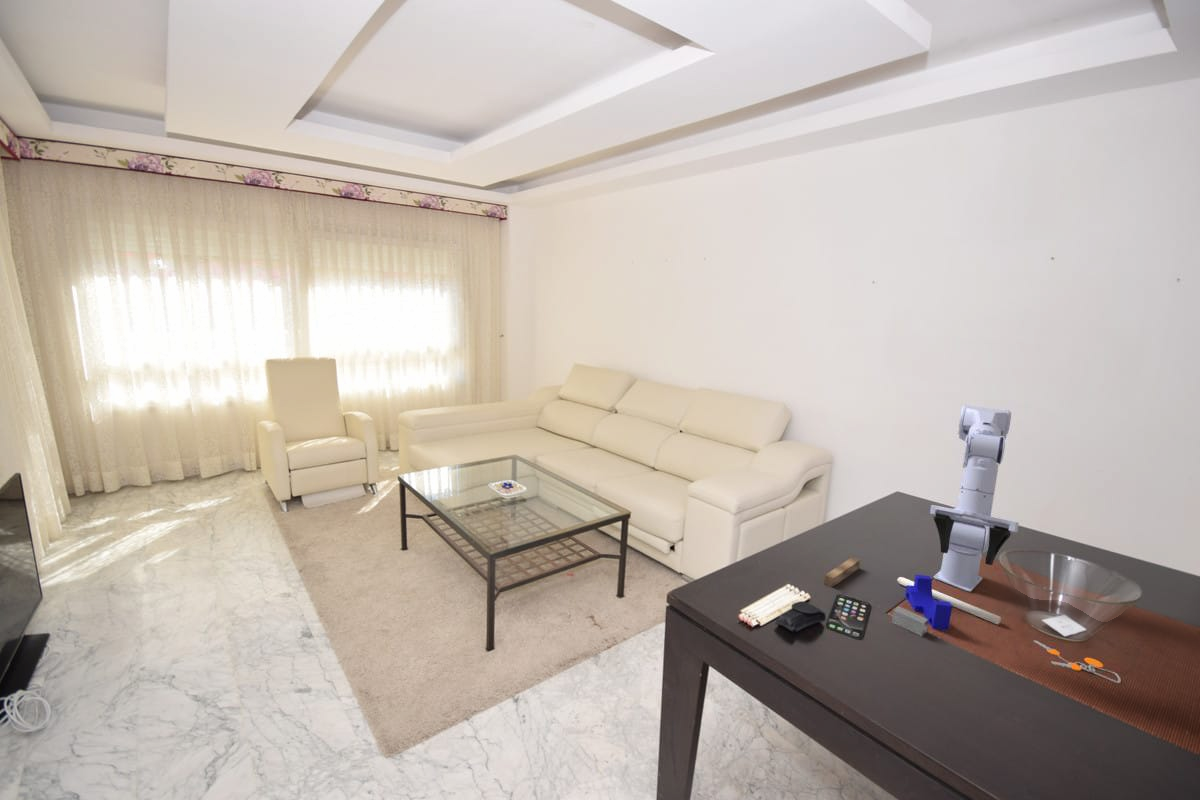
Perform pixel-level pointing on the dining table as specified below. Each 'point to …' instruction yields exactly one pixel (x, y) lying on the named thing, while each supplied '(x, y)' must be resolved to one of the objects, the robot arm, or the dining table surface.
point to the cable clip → (928, 603)
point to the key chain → (1076, 667)
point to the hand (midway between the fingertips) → (965, 558)
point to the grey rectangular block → (910, 621)
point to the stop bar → (841, 572)
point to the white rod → (957, 603)
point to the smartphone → (848, 616)
